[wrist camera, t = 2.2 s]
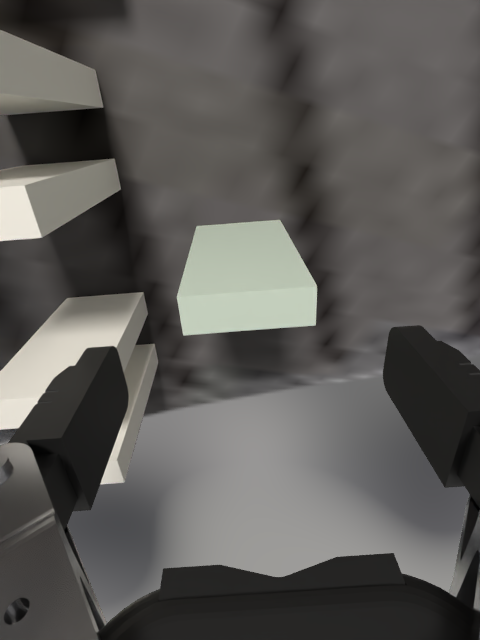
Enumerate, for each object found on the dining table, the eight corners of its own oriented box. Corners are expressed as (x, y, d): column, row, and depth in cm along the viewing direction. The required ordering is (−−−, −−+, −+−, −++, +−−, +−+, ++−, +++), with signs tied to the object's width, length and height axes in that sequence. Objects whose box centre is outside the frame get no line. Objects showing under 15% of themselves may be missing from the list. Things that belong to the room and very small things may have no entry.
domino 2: (67, 297, 23) (-28, 402, 15) (143, 292, 23) (94, 392, 15) (74, 319, 24) (-12, 430, 15) (148, 313, 24) (104, 421, 15)
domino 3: (83, 348, 25) (9, 468, 17) (154, 343, 25) (116, 459, 17) (90, 367, 26) (21, 490, 17) (158, 362, 26) (124, 482, 17)
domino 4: (196, 226, 21) (176, 296, 13) (279, 219, 21) (317, 286, 13) (199, 251, 22) (183, 335, 14) (280, 245, 22) (315, 325, 14)
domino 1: (23, 165, 20) (-141, 198, 11) (114, 158, 20) (24, 185, 11) (33, 196, 20) (-113, 249, 12) (121, 189, 20) (41, 237, 12)
